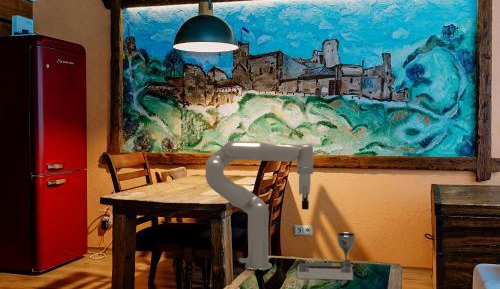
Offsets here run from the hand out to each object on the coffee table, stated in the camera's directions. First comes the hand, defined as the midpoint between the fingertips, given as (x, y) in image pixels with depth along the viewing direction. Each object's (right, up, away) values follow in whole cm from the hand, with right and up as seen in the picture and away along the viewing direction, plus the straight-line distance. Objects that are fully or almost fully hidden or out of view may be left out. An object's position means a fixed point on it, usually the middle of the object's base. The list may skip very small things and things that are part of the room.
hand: (305, 209), depth 260 cm
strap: (+6, -24, -16) cm, 29 cm away
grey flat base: (+7, -28, -16) cm, 33 cm away
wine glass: (+19, -27, +1) cm, 33 cm away
